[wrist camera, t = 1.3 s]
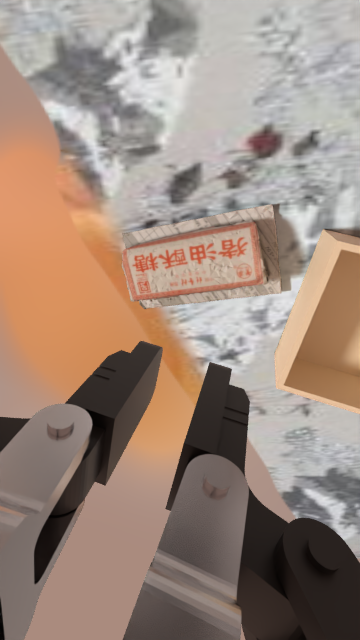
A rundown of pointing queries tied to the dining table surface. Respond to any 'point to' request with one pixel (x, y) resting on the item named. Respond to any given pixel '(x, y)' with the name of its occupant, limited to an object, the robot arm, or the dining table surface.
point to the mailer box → (325, 327)
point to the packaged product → (204, 259)
